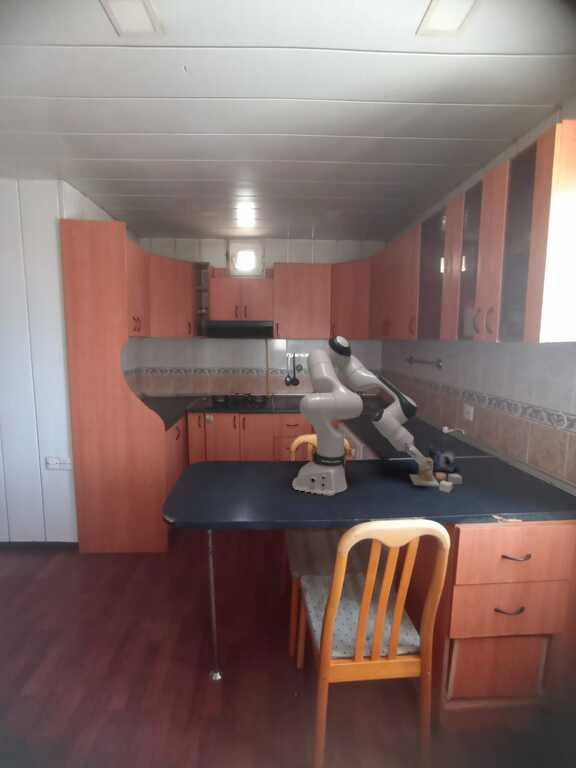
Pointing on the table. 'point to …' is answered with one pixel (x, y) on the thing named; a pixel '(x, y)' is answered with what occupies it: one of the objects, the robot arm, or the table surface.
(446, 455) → the dark purple camera
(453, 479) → the grey plastic block
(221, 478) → the table surface
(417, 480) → the coaster
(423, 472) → the beech block
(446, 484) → the off-white plastic block
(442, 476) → the terracotta puck
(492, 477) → the table surface
